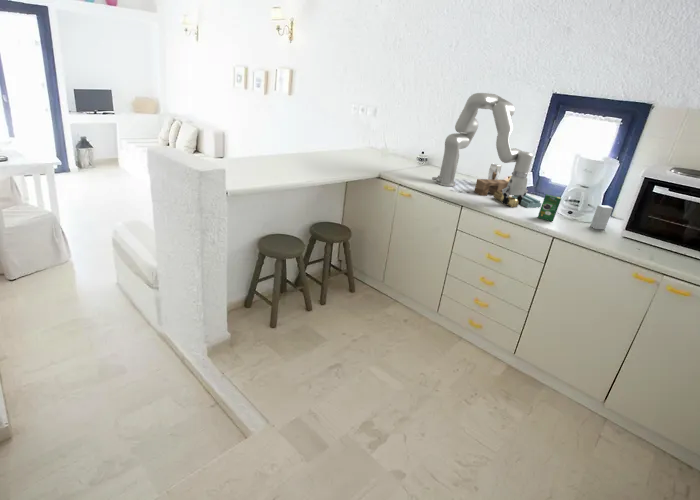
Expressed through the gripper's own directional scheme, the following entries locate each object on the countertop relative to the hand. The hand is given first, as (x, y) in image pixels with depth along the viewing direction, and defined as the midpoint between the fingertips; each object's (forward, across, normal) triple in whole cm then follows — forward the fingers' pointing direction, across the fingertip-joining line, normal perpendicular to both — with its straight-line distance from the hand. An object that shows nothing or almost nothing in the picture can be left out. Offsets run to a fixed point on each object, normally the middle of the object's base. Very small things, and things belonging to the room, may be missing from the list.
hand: (511, 203), depth 234 cm
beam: (+1, +3, +22) cm, 22 cm away
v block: (+1, +14, +4) cm, 15 cm away
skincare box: (+2, +29, -34) cm, 45 cm away
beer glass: (+2, +12, +35) cm, 37 cm away
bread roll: (+2, 0, +5) cm, 6 cm away
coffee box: (+2, +6, -21) cm, 22 cm away
